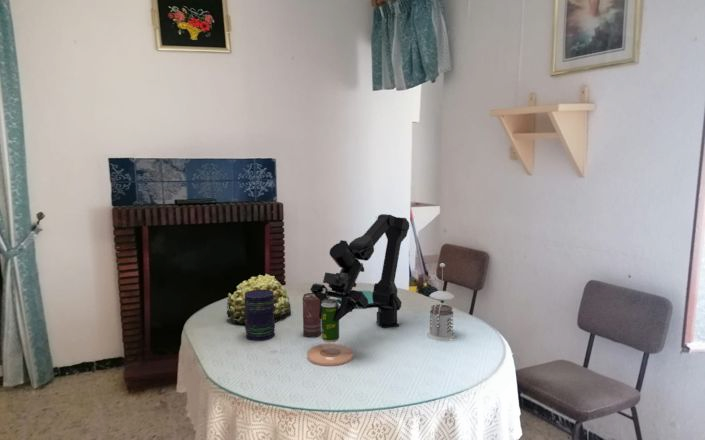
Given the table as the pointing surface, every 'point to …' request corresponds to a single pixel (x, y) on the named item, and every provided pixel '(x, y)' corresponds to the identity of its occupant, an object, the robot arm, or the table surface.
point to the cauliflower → (256, 283)
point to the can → (311, 315)
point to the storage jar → (259, 315)
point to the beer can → (329, 320)
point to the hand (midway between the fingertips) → (327, 319)
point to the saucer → (330, 354)
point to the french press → (441, 316)
